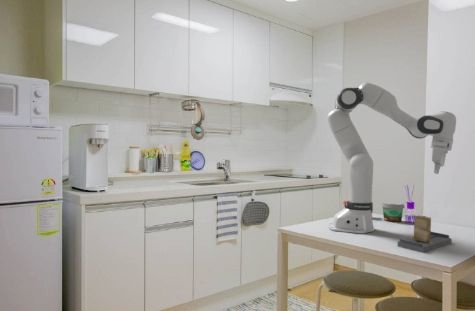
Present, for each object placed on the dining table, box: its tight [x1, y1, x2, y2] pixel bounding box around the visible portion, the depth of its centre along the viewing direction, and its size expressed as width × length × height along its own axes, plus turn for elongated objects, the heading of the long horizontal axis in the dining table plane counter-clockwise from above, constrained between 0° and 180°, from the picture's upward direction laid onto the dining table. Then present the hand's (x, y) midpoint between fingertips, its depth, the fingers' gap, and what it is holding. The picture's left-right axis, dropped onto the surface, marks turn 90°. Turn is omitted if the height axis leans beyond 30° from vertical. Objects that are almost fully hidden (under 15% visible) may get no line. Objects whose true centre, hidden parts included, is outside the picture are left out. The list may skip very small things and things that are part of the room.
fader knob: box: [413, 215, 432, 242], centre depth 161 cm, size 4×5×10 cm
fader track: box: [397, 231, 452, 253], centre depth 163 cm, size 25×11×3 cm, turn 127°
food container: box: [381, 202, 405, 223], centre depth 207 cm, size 12×6×10 cm, turn 87°
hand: (436, 173), depth 180 cm, fingers closed
